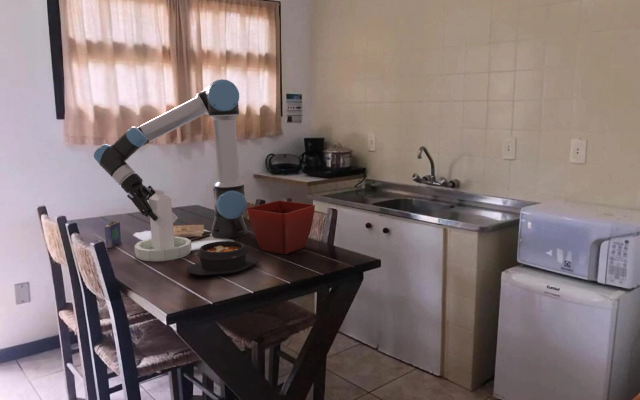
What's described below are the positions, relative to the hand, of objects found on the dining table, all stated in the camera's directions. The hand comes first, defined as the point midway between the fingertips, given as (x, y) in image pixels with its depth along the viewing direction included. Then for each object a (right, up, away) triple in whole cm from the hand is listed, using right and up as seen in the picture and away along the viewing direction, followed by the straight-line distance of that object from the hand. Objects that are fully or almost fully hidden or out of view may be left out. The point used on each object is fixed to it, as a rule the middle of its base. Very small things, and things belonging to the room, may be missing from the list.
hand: (169, 222), depth 197 cm
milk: (-3, -10, +3) cm, 10 cm away
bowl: (-3, -12, +3) cm, 13 cm away
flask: (-27, -10, +15) cm, 33 cm away
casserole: (+23, -16, -17) cm, 33 cm away
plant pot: (+42, -11, +8) cm, 44 cm away
